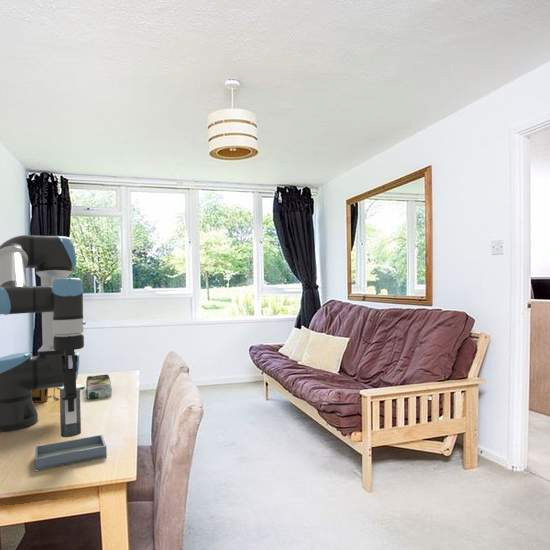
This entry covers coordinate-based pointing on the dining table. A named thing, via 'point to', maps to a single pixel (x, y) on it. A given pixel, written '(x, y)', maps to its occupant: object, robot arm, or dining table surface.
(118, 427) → the dining table surface
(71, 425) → the cell
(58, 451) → the trough
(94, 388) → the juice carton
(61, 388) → the external hard drive
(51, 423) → the dining table surface
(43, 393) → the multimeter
